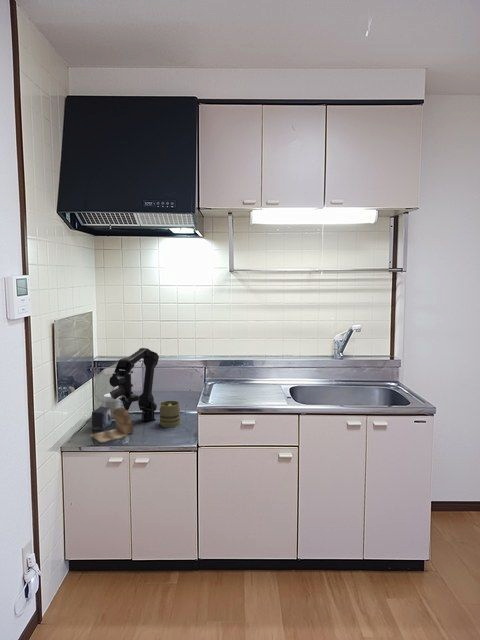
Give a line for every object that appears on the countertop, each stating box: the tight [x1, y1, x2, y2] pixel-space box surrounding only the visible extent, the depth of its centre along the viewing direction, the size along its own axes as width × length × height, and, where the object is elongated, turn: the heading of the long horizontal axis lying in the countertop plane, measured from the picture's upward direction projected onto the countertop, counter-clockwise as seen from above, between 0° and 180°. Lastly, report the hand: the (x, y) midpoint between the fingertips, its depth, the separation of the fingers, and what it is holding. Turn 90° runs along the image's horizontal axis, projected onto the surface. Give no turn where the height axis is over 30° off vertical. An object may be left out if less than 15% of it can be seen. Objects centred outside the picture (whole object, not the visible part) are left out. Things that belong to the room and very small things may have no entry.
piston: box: [159, 400, 181, 428], centre depth 266 cm, size 11×12×11 cm
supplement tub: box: [103, 392, 122, 422], centre depth 275 cm, size 10×10×15 cm
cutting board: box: [90, 428, 127, 444], centre depth 247 cm, size 14×13×1 cm
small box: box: [91, 406, 112, 432], centre depth 260 cm, size 11×6×10 cm, turn 168°
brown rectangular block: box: [113, 406, 134, 436], centre depth 252 cm, size 5×9×12 cm, turn 40°
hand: (126, 411), depth 253 cm, fingers closed, pressing on brown rectangular block
